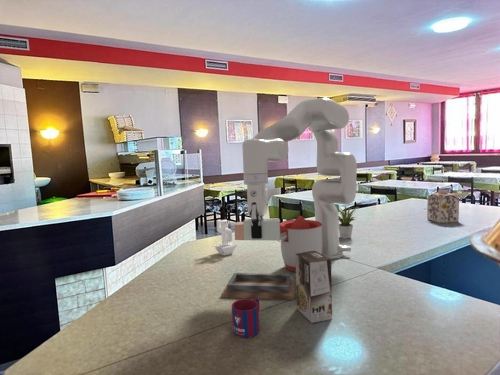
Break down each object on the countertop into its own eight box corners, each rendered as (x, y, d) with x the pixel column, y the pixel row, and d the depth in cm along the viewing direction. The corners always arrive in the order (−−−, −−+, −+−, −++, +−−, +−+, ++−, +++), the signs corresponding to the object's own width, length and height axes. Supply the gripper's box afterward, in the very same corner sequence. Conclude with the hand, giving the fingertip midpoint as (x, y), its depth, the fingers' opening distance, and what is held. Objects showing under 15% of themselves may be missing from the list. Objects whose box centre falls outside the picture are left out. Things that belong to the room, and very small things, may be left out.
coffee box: (333, 319, 88) (332, 259, 86) (311, 323, 86) (309, 262, 84) (316, 304, 96) (315, 249, 95) (296, 308, 95) (294, 252, 93)
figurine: (224, 257, 143) (223, 223, 141) (213, 253, 150) (211, 220, 149) (238, 253, 147) (236, 220, 146) (226, 249, 155) (224, 217, 153)
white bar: (280, 237, 108) (279, 218, 107) (279, 240, 104) (278, 221, 103) (237, 236, 110) (236, 218, 110) (234, 240, 106) (234, 221, 106)
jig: (295, 281, 114) (295, 272, 113) (293, 299, 100) (293, 289, 100) (232, 279, 118) (231, 270, 117) (221, 297, 104) (221, 287, 104)
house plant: (351, 232, 177) (350, 201, 175) (368, 238, 164) (367, 205, 162) (327, 235, 173) (326, 203, 171) (342, 241, 160) (342, 207, 158)
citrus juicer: (269, 266, 130) (267, 215, 128) (307, 258, 137) (306, 210, 135) (289, 279, 116) (288, 222, 114) (331, 270, 123) (330, 216, 120)
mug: (227, 333, 83) (226, 306, 83) (251, 316, 91) (250, 292, 91) (249, 341, 79) (247, 313, 79) (271, 322, 87) (271, 297, 87)
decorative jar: (426, 219, 199) (427, 189, 198) (444, 218, 201) (445, 188, 199) (440, 223, 188) (440, 191, 186) (459, 222, 189) (460, 190, 187)
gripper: (264, 181, 96) (266, 243, 98) (270, 176, 113) (272, 230, 114) (238, 181, 98) (241, 243, 99) (248, 177, 114) (250, 230, 116)
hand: (257, 235), depth 107 cm, fingers closed on white bar, 4 cm apart
